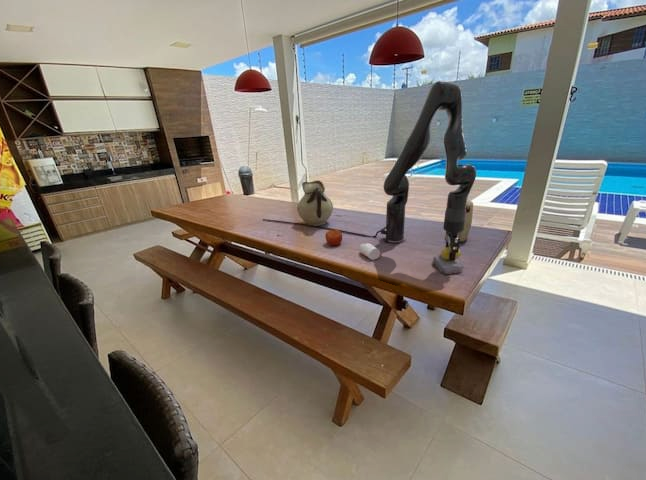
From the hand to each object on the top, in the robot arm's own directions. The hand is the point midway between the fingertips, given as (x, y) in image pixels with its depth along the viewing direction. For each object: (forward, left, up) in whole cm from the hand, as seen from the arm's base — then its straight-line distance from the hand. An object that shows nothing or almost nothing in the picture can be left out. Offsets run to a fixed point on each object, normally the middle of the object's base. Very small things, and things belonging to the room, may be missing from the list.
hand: (449, 256), depth 127 cm
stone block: (0, 0, -5) cm, 5 cm away
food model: (+12, +32, -5) cm, 35 cm away
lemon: (0, 0, -1) cm, 1 cm away
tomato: (-52, +26, -5) cm, 58 cm away
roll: (-34, +12, -5) cm, 36 cm away
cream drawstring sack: (-68, +61, -5) cm, 91 cm away
